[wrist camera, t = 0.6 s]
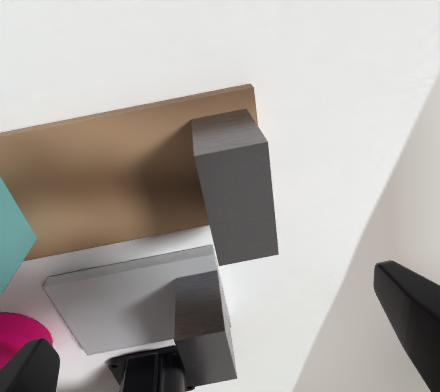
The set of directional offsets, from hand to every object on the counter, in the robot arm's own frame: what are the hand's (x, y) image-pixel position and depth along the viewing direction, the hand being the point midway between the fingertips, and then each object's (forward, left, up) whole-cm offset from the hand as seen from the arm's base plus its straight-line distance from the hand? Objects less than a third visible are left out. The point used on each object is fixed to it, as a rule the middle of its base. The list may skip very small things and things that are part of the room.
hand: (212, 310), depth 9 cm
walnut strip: (-1, +7, -12) cm, 14 cm away
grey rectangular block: (-12, +6, -12) cm, 18 cm away
